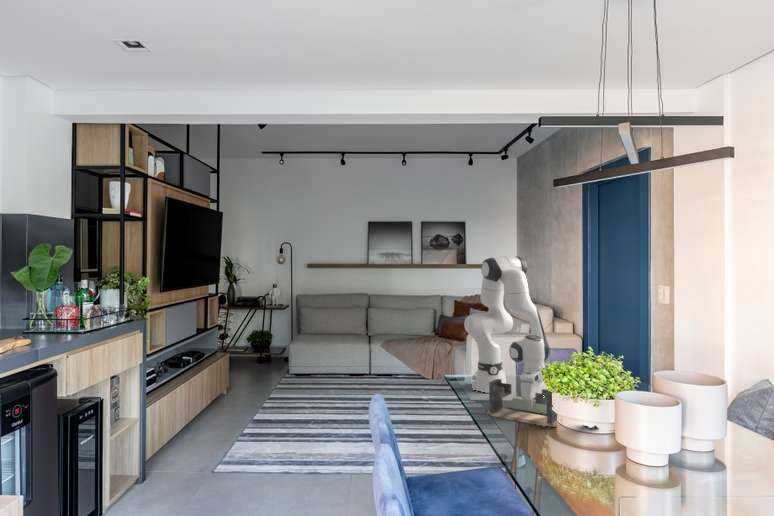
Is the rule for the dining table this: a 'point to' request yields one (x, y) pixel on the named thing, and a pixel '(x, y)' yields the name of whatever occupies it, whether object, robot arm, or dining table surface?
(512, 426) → the dining table surface
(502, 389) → the rail stand
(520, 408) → the rail
